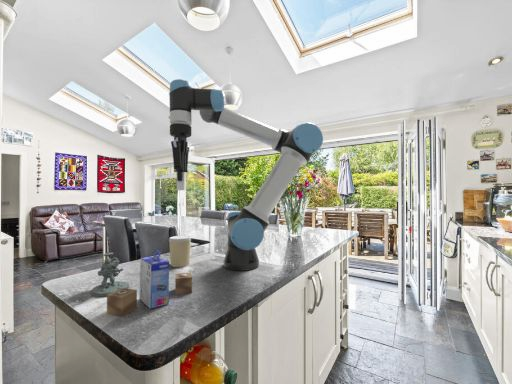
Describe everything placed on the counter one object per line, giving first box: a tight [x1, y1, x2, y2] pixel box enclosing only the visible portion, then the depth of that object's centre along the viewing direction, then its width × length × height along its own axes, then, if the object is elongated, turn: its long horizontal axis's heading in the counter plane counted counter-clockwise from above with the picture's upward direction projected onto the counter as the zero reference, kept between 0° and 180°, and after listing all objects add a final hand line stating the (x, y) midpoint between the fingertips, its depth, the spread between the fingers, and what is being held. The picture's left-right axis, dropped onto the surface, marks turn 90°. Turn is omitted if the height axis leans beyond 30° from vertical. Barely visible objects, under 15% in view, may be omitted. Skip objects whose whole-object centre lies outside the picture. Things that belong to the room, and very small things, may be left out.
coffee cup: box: [168, 235, 192, 268], centre depth 110 cm, size 9×9×12 cm
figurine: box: [90, 251, 130, 298], centre depth 82 cm, size 11×11×12 cm
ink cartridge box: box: [138, 249, 170, 309], centre depth 73 cm, size 10×6×14 cm, turn 41°
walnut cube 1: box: [106, 288, 138, 317], centre depth 68 cm, size 5×5×5 cm
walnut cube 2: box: [174, 271, 193, 296], centre depth 81 cm, size 5×5×5 cm
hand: (181, 190), depth 91 cm, fingers closed
